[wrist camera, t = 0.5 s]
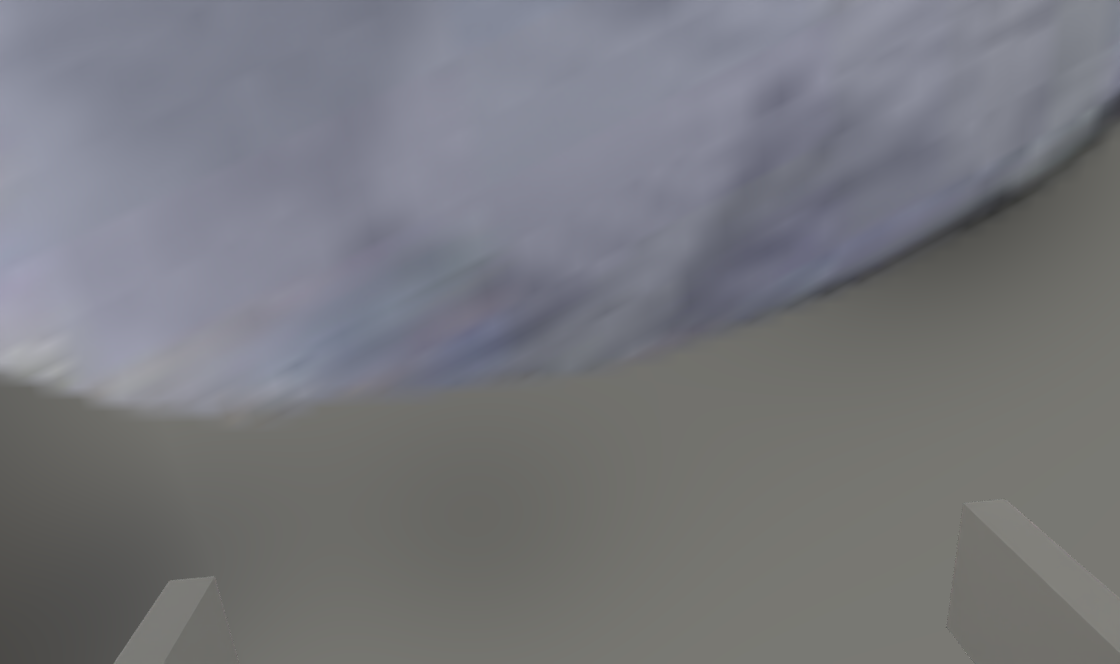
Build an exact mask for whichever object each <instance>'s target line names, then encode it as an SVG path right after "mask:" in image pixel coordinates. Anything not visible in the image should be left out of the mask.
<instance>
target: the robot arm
mask: <svg viewBox="0 0 1120 664" xmlns="http://www.w3.org/2000/svg"><path fill="white" fill-rule="evenodd" d="M946 628H947V629H948V630H949V632H950V633H951V634H952V635H953V637H954V638H955V639H956V640H957V642H958V643H959V644H960V645H961V647H962V648H963V649H964V651H965V652H966V653H967V655H968V656H969V657H970V658H971V660H972V661H973V662H974V664H1120V598H1119V597H1118V596H1117V595H1115V594H1114V593H1113V592H1112V591H1111V590H1110V589H1108V588H1107V587H1106V586H1105V585H1104V584H1103V583H1102V582H1100V581H1099V580H1098V579H1097V578H1096V577H1095V576H1093V575H1092V574H1091V573H1090V572H1089V571H1088V570H1087V569H1085V568H1084V567H1083V566H1082V565H1081V564H1080V563H1079V562H1077V561H1076V560H1075V559H1074V558H1073V557H1072V556H1070V555H1069V554H1068V553H1067V552H1066V551H1065V550H1064V549H1062V548H1061V547H1060V546H1059V545H1058V544H1057V543H1055V542H1054V541H1053V540H1052V539H1051V538H1050V537H1049V536H1047V535H1046V534H1045V533H1044V532H1043V531H1041V530H1040V529H1039V528H1038V527H1037V526H1036V525H1035V524H1034V523H1032V522H1031V521H1030V520H1029V519H1028V518H1027V517H1026V516H1024V515H1023V514H1022V513H1021V512H1019V510H1017V509H1016V508H1015V507H1014V506H1013V505H1012V504H1010V503H1009V502H1008V501H1007V500H1006V499H999V500H988V501H978V502H968V503H963V507H962V515H961V522H960V530H959V537H958V544H957V552H956V559H955V567H954V574H953V581H952V589H951V596H950V604H949V611H948V619H947V626H946ZM114 664H239V661H238V657H237V654H236V650H235V647H234V643H233V639H232V636H231V632H230V629H229V625H228V622H227V618H226V615H225V611H224V607H223V604H222V600H221V597H220V593H219V590H218V586H217V583H216V579H215V576H212V577H203V578H192V579H182V580H172V581H169V582H168V584H167V585H166V587H165V588H164V590H163V591H162V593H161V594H160V595H159V597H158V598H157V600H156V601H155V603H154V604H153V606H152V607H151V609H150V610H149V612H148V613H147V615H146V616H145V618H144V619H143V621H142V622H141V624H140V625H139V627H138V628H137V630H136V631H135V633H134V634H133V636H132V637H131V638H130V640H129V641H128V643H127V644H126V646H125V648H124V649H123V650H122V652H121V654H120V655H119V656H118V658H117V659H116V661H115V662H114Z"/></svg>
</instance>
